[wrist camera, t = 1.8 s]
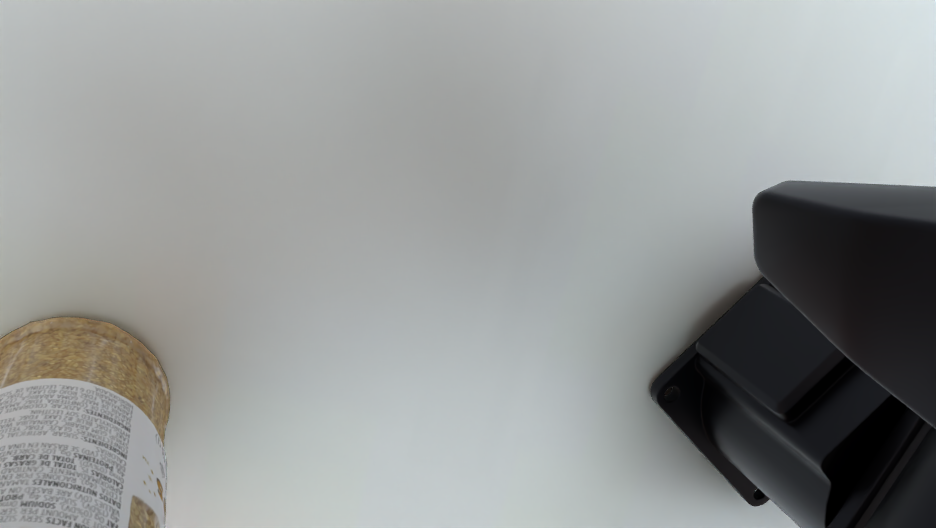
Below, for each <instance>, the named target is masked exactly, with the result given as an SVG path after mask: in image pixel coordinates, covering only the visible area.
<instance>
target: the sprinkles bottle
mask: <svg viewBox="0 0 936 528" xmlns="http://www.w3.org/2000/svg"><path fill="white" fill-rule="evenodd" d="M169 411H170V395H169V386H168V382H167V377H166V375H165V373H164V372H163V370H162V368H161V366H160V364H159V362H158V360H157V359H156V357H155V356H154V355H153V354H152V353H151V352H150V351H149V350H148V349H147V348H146V347H145V346H144V345H143V344H142V343H141V342H140V341H138V340H137V339H136V338H134V337H132V336H131V335H130V334H129V333H128V332H125V331H123V330H122V329H120V328H118V327H117V326H115V325H113V324H111V323H107V322H103V321H95V320H90V319H85V318H77V317H58V318H50V319H46V320H42V321H35V322H30V323H29V324H27V325H25V326H23V327H21V328H19V329H17V330H14V331H12V332H11V333H9V334H8V335H6V336H5V337H3V338H2V339H1V340H0V528H165V512H166V480H167V462H166V455H165V451H164V436H165V428H166V425H167V422H168V418H169Z"/></svg>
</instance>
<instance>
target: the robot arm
mask: <svg viewBox="0 0 936 528" xmlns="http://www.w3.org/2000/svg"><path fill="white" fill-rule="evenodd" d="M752 213H753V240H754V258H755V261H756V264H757V266H758V268H759V270H760V272H761V273H762V275H763V276H764V277H763V278H762V279H761V280H760V281H759V282H758V283H757V284H756V285H755V286H754V287H753V288H751V289H750V290H749V291H748V292H747V293H746V294H745V295H744V296H743V297H742V298H741V299H740V300H739V301H738V302H737V303H736V304H735V305H734V306H732V307H731V308H730V309H729V310H728V311H727V312H726V313H725V314H724V315H723V316H722V317H721V318H720V319H719V320H718V321H717V322H716V323H715V324H713V325H712V326H711V327H710V328H709V329H708V330H707V331H706V332H705V333H704V334H703V335H702V336H701V337H700V338H699V339H698V340H697V341H696V342H694V343H693V344H692V345H691V346H690V347H689V348H688V349H687V350H686V351H685V352H684V353H683V354H682V355H681V356H680V357H679V358H678V359H677V360H676V361H674V362H673V363H672V364H671V365H670V366H669V367H668V368H667V369H666V370H665V371H664V372H663V373H662V374H661V375H660V376H659V377H658V378H657V379H656V380H655V381H654V382H653V384H652V386H651V389H650V393H651V397H652V399H653V400H654V401H655V403H656V404H657V405H658V406H659V407H660V408H661V409H662V410H663V411H664V412H665V413H666V415H667V416H668V417H669V418H670V419H671V420H672V421H673V422H674V423H675V424H676V425H677V427H678V428H679V429H680V430H681V431H682V432H683V433H684V434H685V435H686V436H687V437H688V439H689V440H690V441H691V442H692V443H693V444H694V445H695V446H696V447H697V448H698V449H699V451H700V452H701V453H702V454H703V455H704V456H705V457H706V458H707V459H708V460H709V462H710V463H711V464H712V465H713V466H714V467H715V468H716V469H717V470H718V471H719V472H720V474H721V475H722V476H723V477H724V478H725V479H726V480H727V481H728V482H729V483H730V484H731V486H732V487H733V488H734V489H735V490H736V491H737V492H738V493H739V494H740V495H741V496H742V497H743V498H744V499H745V500H746V501H747V502H748V503H749V504H750V505H752V506H760V505H763V504H764V503H766V502H767V501H768V500H769V499H771V500H772V501H773V502H774V503H775V504H776V505H777V506H778V507H779V508H780V509H781V510H782V511H783V512H784V513H785V514H787V515H788V516H789V517H790V518H791V519H792V520H793V521H794V522H795V523H796V524H797V525H798V526H799V527H800V528H936V187H928V186H905V185H881V184H858V183H835V182H812V181H785V182H782V183H779V184H777V185H775V186H773V187H771V188H768V189H766V190H764V191H762V192H760V193H759V194H758V195H757V196H756V197H755V199H754V202H753V206H752ZM671 387H673V388H672V391H671V392H670V394H668V395H666V396H664V395H665V392H666V391H667V389H669V388H671ZM757 488H758V489H757ZM756 489H757V490H756ZM755 490H756V491H755ZM754 491H755V492H754Z"/></svg>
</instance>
